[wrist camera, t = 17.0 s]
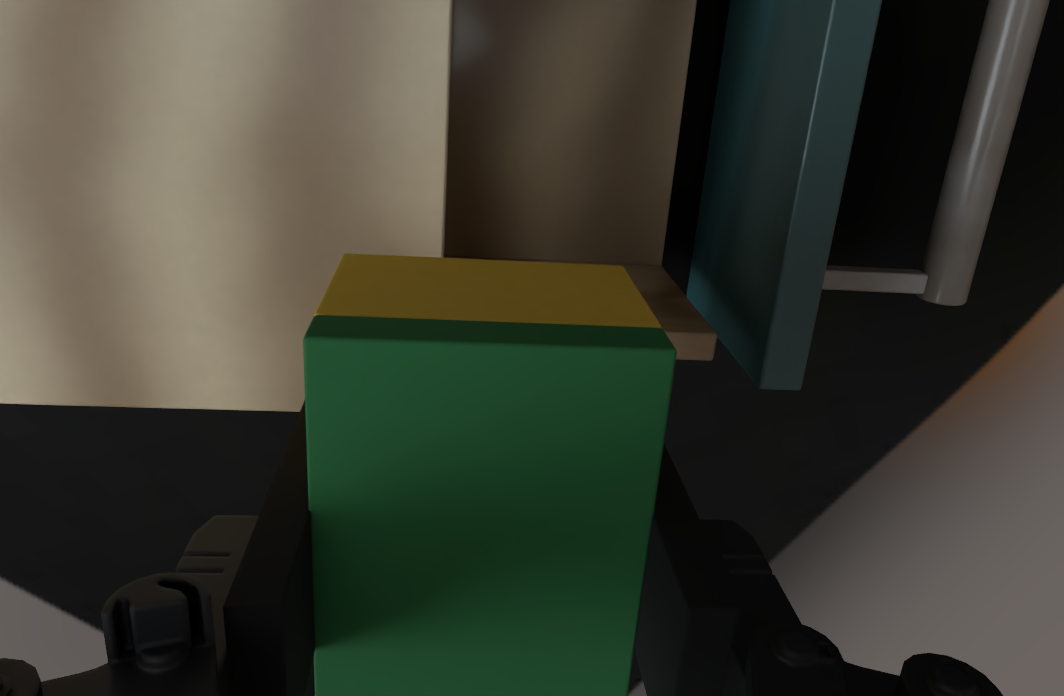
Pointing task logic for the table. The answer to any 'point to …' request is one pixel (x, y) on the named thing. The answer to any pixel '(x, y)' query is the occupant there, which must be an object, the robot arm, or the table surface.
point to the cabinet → (205, 186)
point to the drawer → (732, 161)
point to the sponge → (481, 475)
